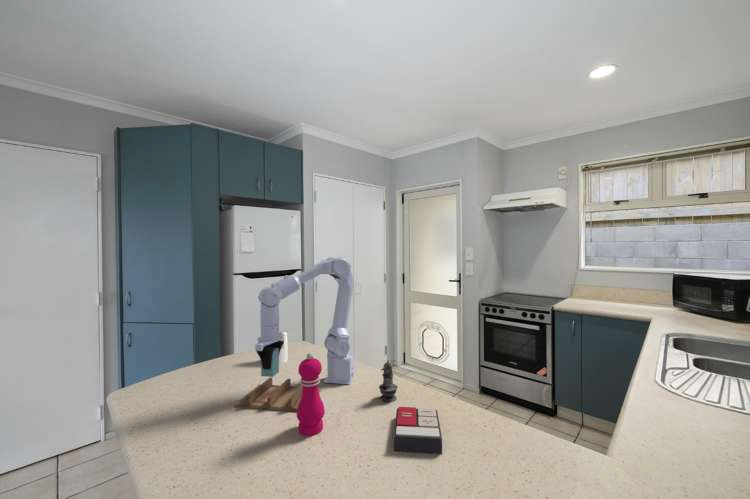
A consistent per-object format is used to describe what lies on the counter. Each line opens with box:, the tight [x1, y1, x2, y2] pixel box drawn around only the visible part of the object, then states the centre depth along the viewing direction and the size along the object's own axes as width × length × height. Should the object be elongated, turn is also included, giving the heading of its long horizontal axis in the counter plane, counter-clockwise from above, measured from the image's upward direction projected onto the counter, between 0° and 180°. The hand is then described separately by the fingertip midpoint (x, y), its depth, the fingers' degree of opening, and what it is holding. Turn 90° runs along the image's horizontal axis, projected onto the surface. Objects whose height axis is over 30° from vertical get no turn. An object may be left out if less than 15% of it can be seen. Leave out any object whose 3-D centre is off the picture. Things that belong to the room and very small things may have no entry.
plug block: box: [260, 347, 280, 378], centre depth 103 cm, size 4×4×8 cm
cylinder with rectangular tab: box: [279, 331, 289, 366], centre depth 135 cm, size 9×9×12 cm
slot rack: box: [234, 377, 321, 413], centre depth 101 cm, size 22×14×4 cm, turn 81°
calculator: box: [393, 406, 443, 455], centre depth 81 cm, size 11×4×15 cm
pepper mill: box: [296, 352, 326, 437], centre depth 84 cm, size 7×7×20 cm
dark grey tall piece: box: [378, 360, 398, 403], centre depth 101 cm, size 6×6×12 cm
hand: (270, 366), depth 103 cm, fingers closed on plug block, 4 cm apart
